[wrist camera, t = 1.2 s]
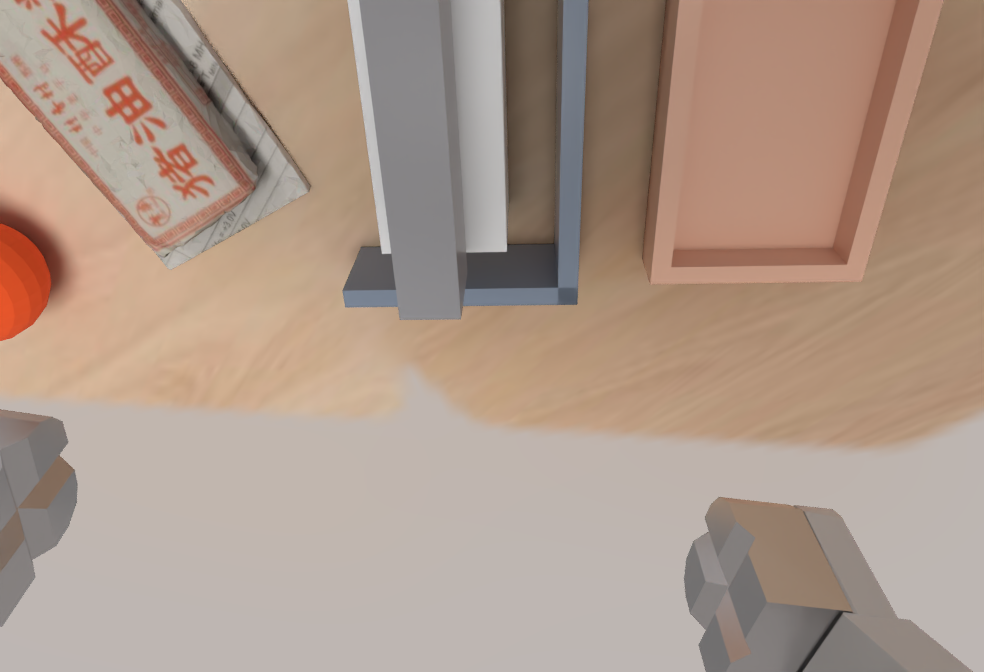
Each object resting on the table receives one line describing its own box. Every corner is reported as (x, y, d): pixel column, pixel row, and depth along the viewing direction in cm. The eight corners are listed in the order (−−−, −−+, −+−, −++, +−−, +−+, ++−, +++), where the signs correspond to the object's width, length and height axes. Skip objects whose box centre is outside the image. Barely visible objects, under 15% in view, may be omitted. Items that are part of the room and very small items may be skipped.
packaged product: (-165, -32, 29) (-3, -176, 26) (-81, -43, 33) (68, -169, 30) (145, 301, 37) (293, 220, 34) (181, 260, 41) (317, 184, 38)
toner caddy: (503, -47, 32) (493, -10, 22) (508, 202, 38) (504, 318, 28) (371, -42, 32) (303, -4, 22) (400, 204, 39) (357, 320, 29)
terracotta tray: (935, -103, 30) (973, -101, 27) (840, 255, 39) (861, 281, 37) (674, -92, 30) (688, -89, 28) (642, 258, 40) (650, 284, 37)
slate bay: (583, -144, 29) (594, -147, 25) (571, 259, 40) (577, 304, 36) (303, -132, 30) (267, -133, 26) (363, 262, 40) (345, 307, 36)
